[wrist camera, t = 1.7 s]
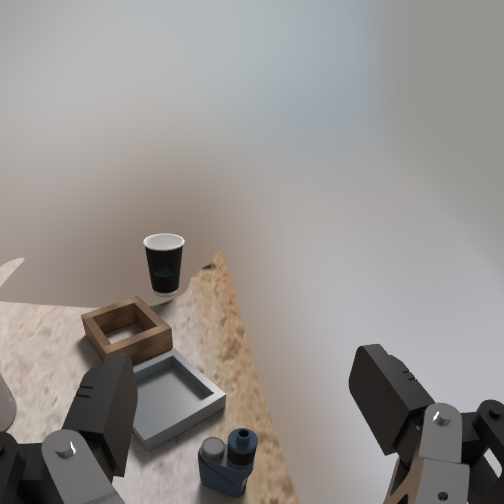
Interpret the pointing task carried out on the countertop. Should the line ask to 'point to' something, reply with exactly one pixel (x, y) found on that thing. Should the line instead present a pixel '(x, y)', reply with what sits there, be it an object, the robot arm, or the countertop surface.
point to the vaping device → (228, 461)
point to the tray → (171, 398)
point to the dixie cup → (164, 262)
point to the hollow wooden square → (121, 315)
